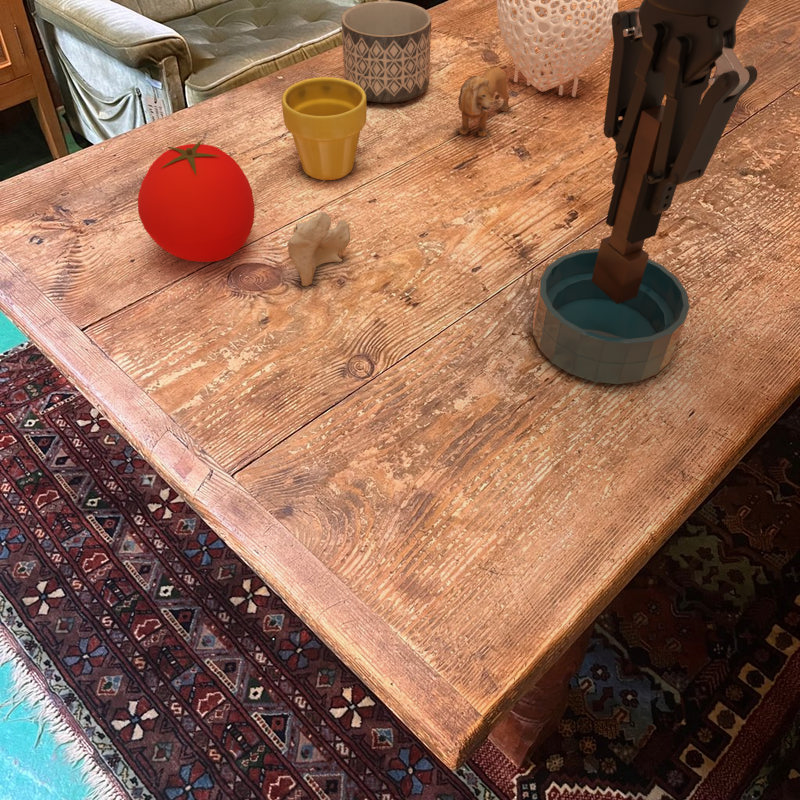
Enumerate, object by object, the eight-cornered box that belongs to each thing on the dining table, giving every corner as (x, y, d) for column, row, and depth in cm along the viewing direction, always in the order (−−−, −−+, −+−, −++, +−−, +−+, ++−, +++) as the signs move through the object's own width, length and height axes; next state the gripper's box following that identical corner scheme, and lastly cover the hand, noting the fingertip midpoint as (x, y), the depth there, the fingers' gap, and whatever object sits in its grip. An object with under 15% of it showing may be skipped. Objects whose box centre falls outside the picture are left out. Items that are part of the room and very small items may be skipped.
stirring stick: (636, 297, 74) (690, 120, 61) (617, 304, 73) (667, 127, 60) (610, 273, 76) (656, 98, 63) (591, 281, 75) (633, 105, 62)
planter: (446, 91, 116) (449, 19, 108) (383, 118, 110) (382, 44, 102) (390, 63, 122) (389, -7, 114) (327, 88, 116) (323, 16, 109)
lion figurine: (487, 152, 104) (493, 87, 97) (449, 145, 105) (453, 80, 99) (512, 103, 113) (520, 41, 107) (478, 97, 115) (483, 35, 108)
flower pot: (369, 188, 98) (367, 115, 91) (287, 190, 97) (279, 116, 90) (367, 146, 105) (365, 75, 98) (290, 148, 104) (283, 76, 97)
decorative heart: (613, 93, 116) (640, -31, 103) (580, 121, 110) (604, -7, 97) (510, 61, 123) (524, -58, 110) (474, 86, 117) (484, -38, 104)
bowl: (702, 358, 77) (721, 312, 73) (588, 407, 73) (601, 361, 68) (612, 279, 86) (623, 234, 81) (505, 318, 81) (511, 273, 77)
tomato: (248, 213, 94) (232, 115, 85) (271, 269, 86) (257, 168, 77) (145, 233, 91) (117, 134, 82) (160, 293, 83) (131, 191, 74)
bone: (318, 219, 90) (340, 173, 81) (352, 262, 90) (379, 220, 81) (261, 254, 87) (278, 210, 78) (297, 299, 87) (318, 260, 78)
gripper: (594, -86, 55) (546, 197, 73) (752, -15, 46) (654, 289, 64) (674, -100, 58) (609, 177, 75) (839, -35, 49) (722, 263, 66)
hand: (630, 228), depth 69 cm, fingers closed on stirring stick, 2 cm apart
